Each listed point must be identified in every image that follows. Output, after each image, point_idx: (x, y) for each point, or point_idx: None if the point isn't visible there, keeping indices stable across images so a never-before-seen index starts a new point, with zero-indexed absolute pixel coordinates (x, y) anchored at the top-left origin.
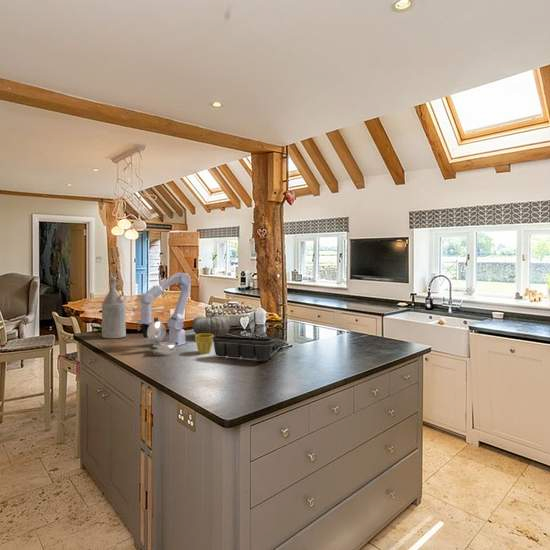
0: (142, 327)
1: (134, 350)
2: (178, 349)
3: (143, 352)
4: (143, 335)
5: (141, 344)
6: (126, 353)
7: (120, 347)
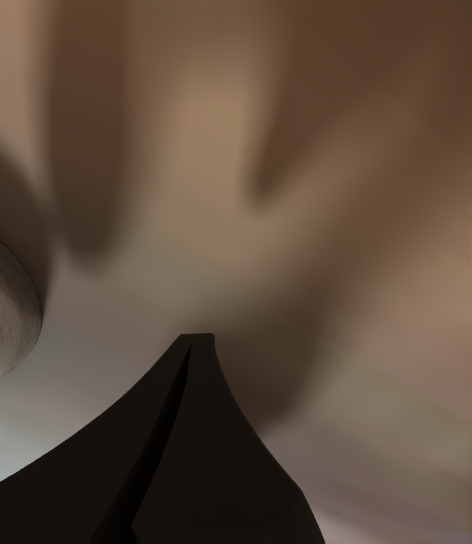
0: (154, 491)
1: (215, 170)
2: (18, 422)
3: (76, 185)
4: (206, 344)
5: (368, 340)
6: (144, 10)
7: (443, 140)
